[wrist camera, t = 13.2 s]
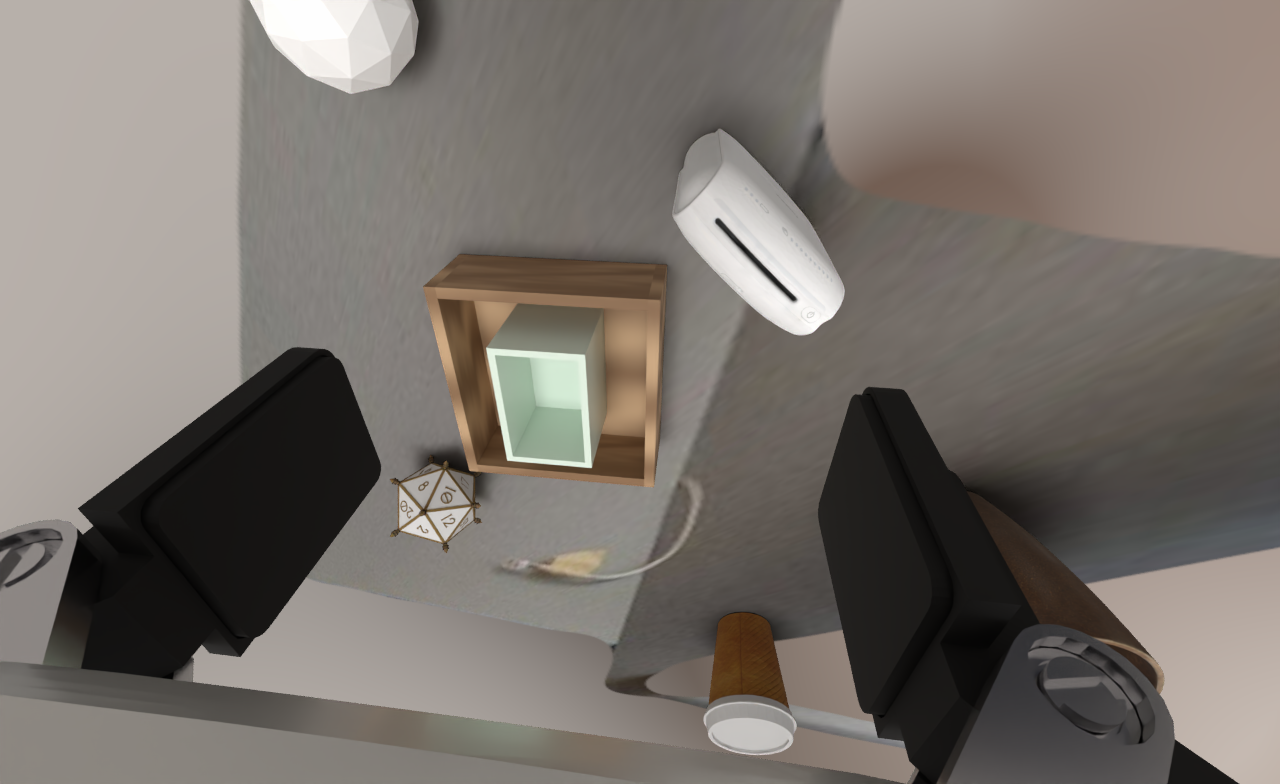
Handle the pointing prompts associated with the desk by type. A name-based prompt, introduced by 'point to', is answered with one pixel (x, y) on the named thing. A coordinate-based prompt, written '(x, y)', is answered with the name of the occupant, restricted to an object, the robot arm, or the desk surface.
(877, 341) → the desk surface
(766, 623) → the disposable coffee cup
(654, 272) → the big crate
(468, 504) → the game die
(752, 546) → the desk surface
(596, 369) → the box
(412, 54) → the geometric ball
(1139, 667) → the plant pot
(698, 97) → the desk surface
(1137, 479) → the desk surface
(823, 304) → the photo printer
